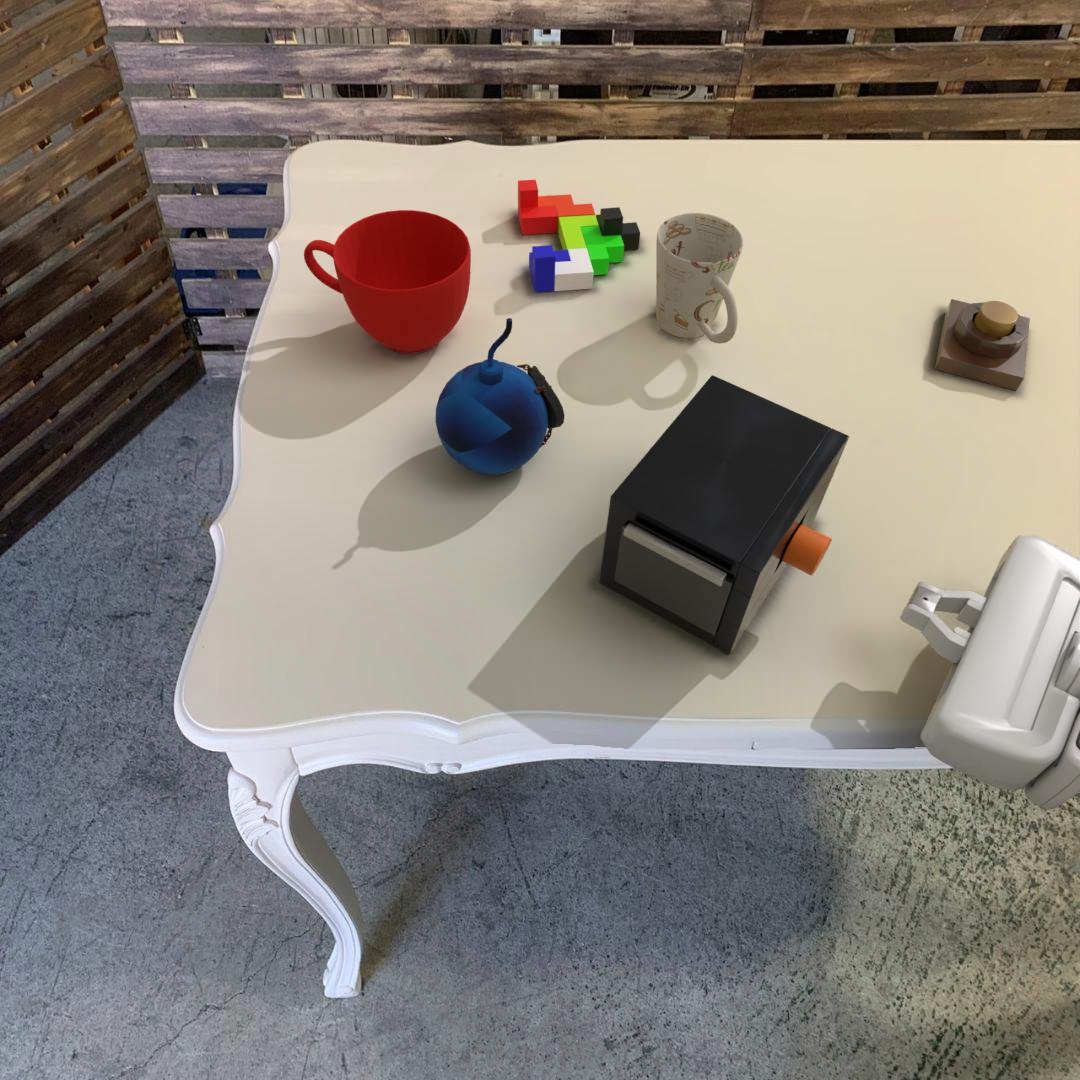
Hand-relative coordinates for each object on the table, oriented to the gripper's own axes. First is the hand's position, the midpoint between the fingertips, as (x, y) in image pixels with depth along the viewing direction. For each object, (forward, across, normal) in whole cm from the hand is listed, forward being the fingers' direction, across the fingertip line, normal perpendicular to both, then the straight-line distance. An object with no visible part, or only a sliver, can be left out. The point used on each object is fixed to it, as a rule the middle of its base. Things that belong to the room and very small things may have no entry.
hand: (909, 599), depth 66 cm
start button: (+5, -40, +3) cm, 40 cm away
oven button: (+8, 0, +2) cm, 8 cm away
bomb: (+37, +1, +6) cm, 37 cm away
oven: (+15, 0, +6) cm, 17 cm away
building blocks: (+48, -30, +6) cm, 57 cm away
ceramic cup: (+56, -7, +6) cm, 57 cm away
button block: (+5, -40, +6) cm, 40 cm away
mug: (+30, -25, +6) cm, 39 cm away
